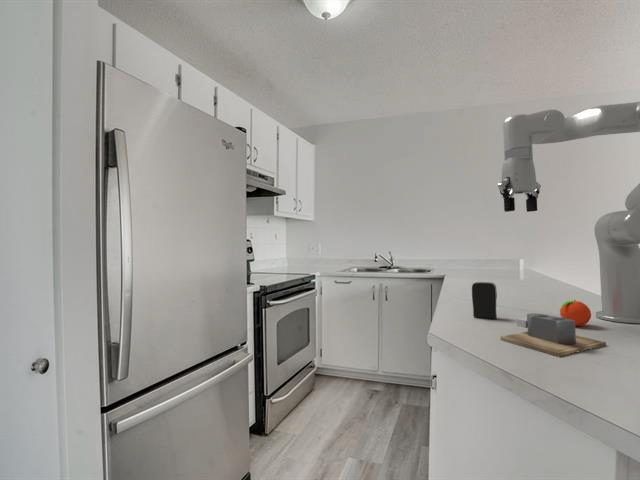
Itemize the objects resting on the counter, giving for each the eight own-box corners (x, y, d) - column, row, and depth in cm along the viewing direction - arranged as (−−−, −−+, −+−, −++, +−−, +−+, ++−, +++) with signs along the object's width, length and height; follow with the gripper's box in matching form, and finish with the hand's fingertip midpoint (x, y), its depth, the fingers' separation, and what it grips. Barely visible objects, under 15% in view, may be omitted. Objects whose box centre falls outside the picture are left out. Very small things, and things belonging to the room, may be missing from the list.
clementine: (572, 329, 88) (570, 303, 89) (551, 323, 95) (549, 299, 95) (598, 327, 90) (597, 301, 90) (575, 321, 96) (574, 297, 96)
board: (544, 331, 88) (544, 327, 88) (606, 345, 75) (605, 341, 75) (500, 339, 82) (500, 336, 82) (558, 356, 69) (558, 352, 69)
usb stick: (580, 343, 75) (579, 320, 75) (567, 346, 73) (566, 323, 73) (527, 330, 87) (526, 311, 87) (515, 332, 85) (514, 313, 85)
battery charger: (498, 317, 105) (497, 281, 105) (496, 320, 102) (495, 283, 102) (475, 315, 109) (473, 280, 110) (472, 317, 106) (470, 282, 106)
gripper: (526, 161, 110) (529, 212, 110) (487, 158, 104) (490, 212, 103) (549, 155, 103) (552, 210, 103) (509, 151, 97) (511, 209, 96)
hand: (520, 211), depth 103 cm, fingers open, 9 cm apart
